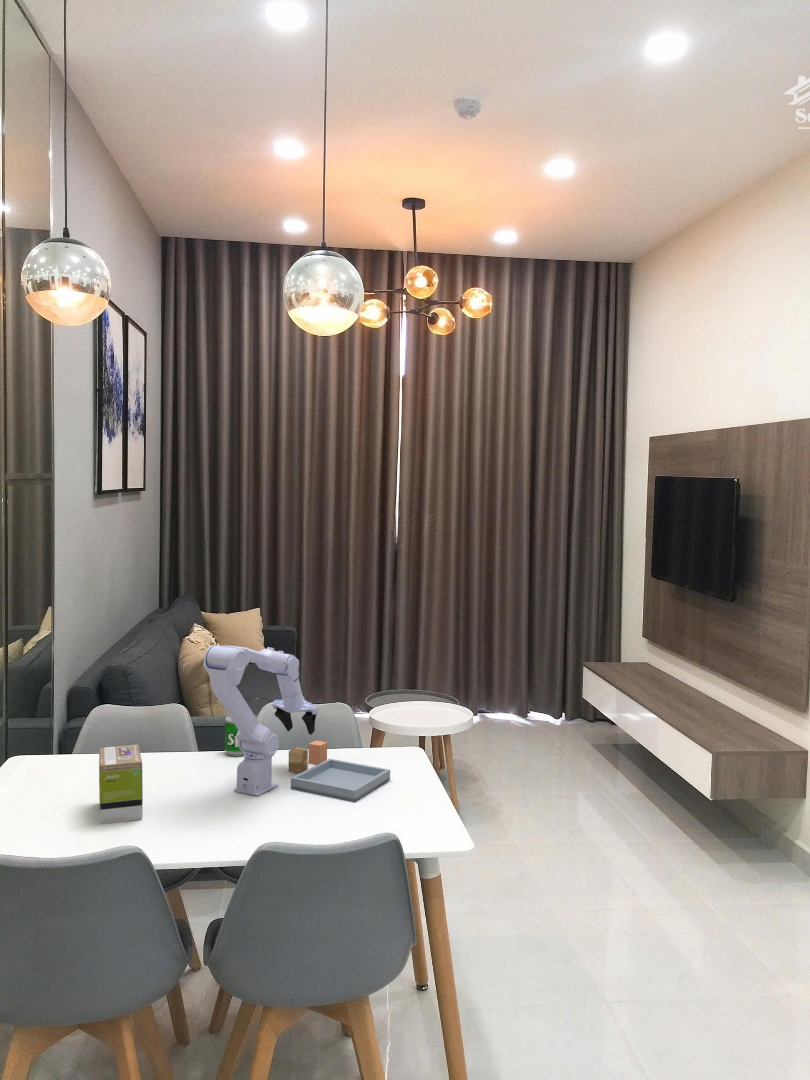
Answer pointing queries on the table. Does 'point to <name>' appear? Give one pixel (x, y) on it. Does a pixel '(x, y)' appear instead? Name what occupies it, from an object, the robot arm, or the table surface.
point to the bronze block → (298, 760)
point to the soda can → (231, 738)
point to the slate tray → (340, 779)
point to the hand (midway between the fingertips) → (300, 730)
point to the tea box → (120, 784)
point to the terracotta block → (317, 752)
